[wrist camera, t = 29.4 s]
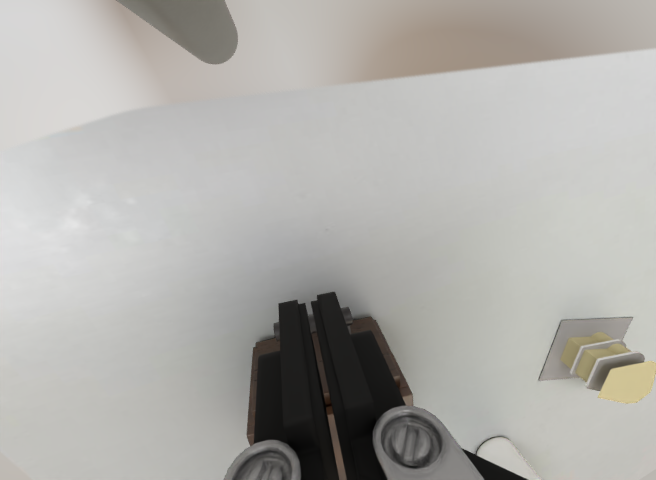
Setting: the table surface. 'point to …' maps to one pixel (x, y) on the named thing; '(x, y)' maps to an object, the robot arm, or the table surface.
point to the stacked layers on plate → (600, 359)
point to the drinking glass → (506, 457)
